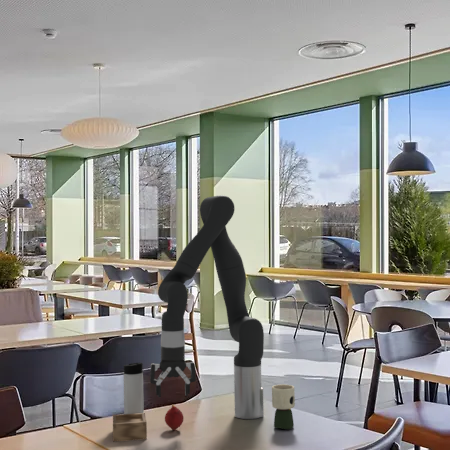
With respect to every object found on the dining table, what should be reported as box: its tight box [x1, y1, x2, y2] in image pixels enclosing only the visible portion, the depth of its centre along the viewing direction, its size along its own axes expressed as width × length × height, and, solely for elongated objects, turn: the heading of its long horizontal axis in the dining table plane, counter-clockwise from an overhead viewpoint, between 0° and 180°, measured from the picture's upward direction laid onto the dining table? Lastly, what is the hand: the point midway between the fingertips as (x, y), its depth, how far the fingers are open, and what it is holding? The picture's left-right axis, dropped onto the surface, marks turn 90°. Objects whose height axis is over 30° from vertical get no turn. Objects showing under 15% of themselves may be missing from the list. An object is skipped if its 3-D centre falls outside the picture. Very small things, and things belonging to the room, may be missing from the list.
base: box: [112, 412, 148, 443], centre depth 199 cm, size 10×10×5 cm
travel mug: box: [123, 362, 145, 414], centre depth 211 cm, size 6×7×20 cm
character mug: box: [271, 384, 296, 430], centre depth 204 cm, size 11×7×13 cm, turn 169°
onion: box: [164, 404, 185, 431], centre depth 204 cm, size 6×6×8 cm
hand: (172, 396), depth 204 cm, fingers open, 8 cm apart
